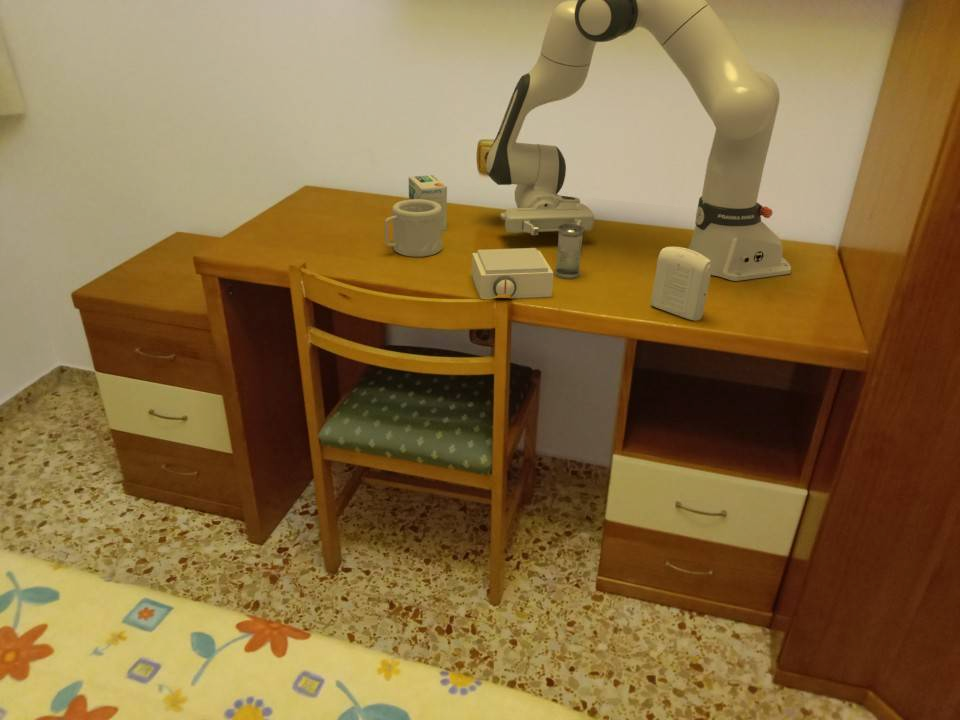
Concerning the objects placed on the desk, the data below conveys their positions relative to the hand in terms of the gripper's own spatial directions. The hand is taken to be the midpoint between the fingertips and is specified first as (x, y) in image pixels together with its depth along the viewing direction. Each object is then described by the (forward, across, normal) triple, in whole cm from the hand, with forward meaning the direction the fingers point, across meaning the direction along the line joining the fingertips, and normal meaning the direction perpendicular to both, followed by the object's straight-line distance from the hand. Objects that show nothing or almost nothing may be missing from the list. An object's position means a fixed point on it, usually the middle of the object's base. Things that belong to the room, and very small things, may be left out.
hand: (556, 231), depth 164 cm
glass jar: (+11, 0, +6) cm, 12 cm away
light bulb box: (-23, -26, +6) cm, 35 cm away
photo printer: (+31, +16, +6) cm, 35 cm away
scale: (+16, -13, +5) cm, 22 cm away
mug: (-6, -31, +6) cm, 32 cm away
